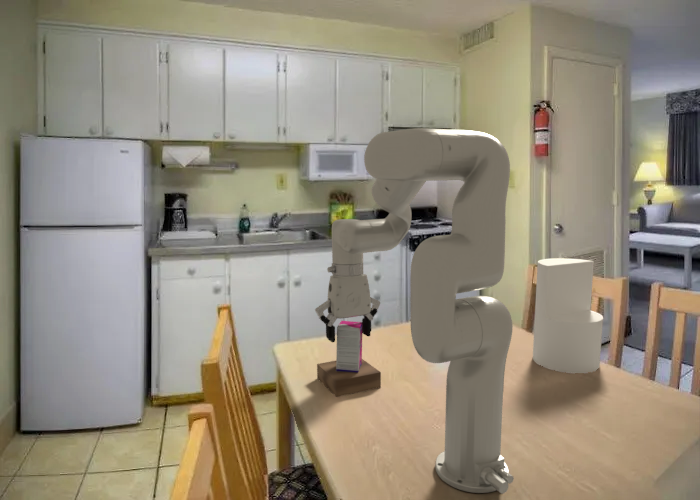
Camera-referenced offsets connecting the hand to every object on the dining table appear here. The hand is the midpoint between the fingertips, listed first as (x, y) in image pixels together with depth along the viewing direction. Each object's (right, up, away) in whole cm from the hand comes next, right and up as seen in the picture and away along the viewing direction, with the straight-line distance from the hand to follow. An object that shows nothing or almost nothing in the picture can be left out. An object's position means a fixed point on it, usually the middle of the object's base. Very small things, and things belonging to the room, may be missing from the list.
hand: (349, 337), depth 123 cm
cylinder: (+61, -10, +16) cm, 64 cm away
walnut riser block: (0, -12, +2) cm, 12 cm away
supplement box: (0, -8, +2) cm, 8 cm away
